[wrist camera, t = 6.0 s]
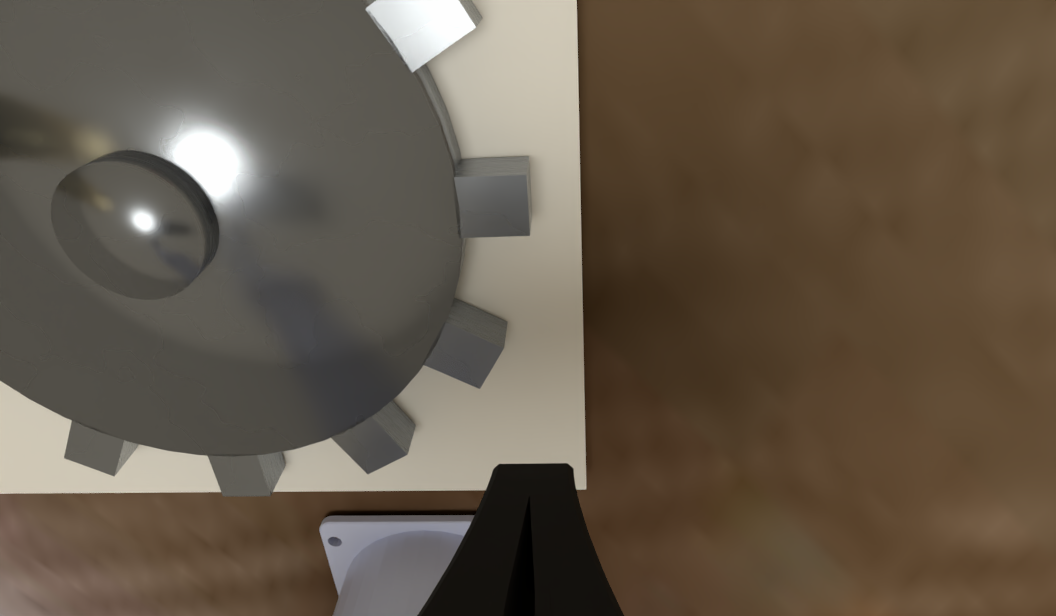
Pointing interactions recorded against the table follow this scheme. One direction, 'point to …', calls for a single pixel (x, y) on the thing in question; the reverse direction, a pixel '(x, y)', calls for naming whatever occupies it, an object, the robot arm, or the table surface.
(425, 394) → the base board
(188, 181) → the sprocket
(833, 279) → the table surface
